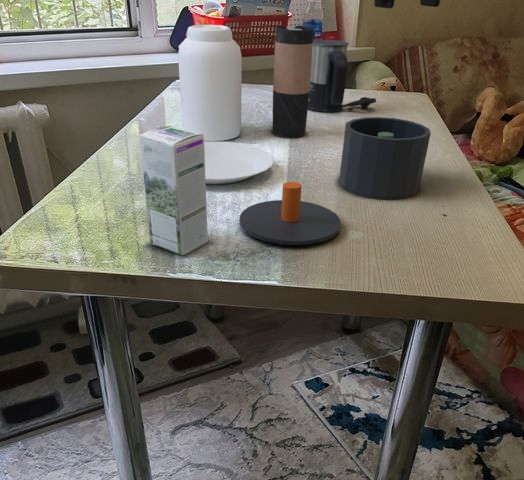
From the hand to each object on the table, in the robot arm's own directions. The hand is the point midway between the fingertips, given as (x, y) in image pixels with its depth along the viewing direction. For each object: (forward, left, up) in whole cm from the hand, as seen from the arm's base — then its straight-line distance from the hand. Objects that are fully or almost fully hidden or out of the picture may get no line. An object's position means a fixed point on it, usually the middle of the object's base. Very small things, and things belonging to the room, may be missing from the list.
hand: (407, 6), depth 79 cm
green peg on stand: (0, 0, -26) cm, 26 cm away
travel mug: (+19, -28, -26) cm, 43 cm away
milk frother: (+9, -54, -26) cm, 61 cm away
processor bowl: (0, 0, -26) cm, 26 cm away
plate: (+29, 0, -26) cm, 39 cm away
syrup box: (+27, +30, -26) cm, 48 cm away
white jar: (+35, -23, -26) cm, 50 cm away
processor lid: (+13, +21, -26) cm, 36 cm away
